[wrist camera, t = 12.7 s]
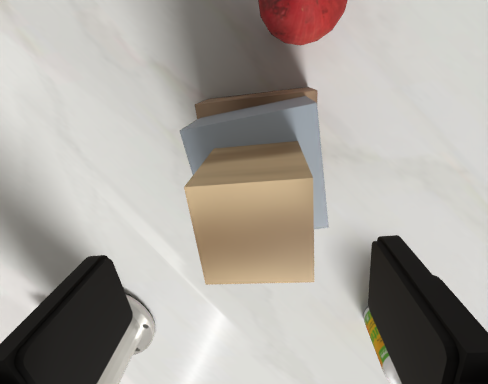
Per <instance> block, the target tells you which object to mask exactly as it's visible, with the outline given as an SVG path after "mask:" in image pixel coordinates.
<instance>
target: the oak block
mask: <svg viewBox="0 0 488 384" xmlns="http://www.w3.org/2000/svg"><path fill="white" fill-rule="evenodd" d="M184 189H185V193H186V198H187V202H188V207H189V211H190V216H191V220H192V225H193V229H194V234H195V238H196V243H197V247H198V252H199V256H200V261H201V265H202V270H203V274H204V279H205V283H206V284H250V283H296V282H314V209H313V176H312V174H311V171H310V169H309V167H308V164H307V162H306V159H305V157H304V155H303V152H302V150H301V147H300V145H299V142H298V141H291V142H280V143H269V144H258V145H247V146H236V147H225V148H214V149H213V150H212V152H211V153H210V154H209V155H208V157H207V158H206V159H205V161H204V162H203V163H202V165H201V166H200V167H199V169H198V170H197V171H196V172H195V174H194V175H193V176H192V178H191V179H190V180H189V182H188V183H187V184H186V185H185V187H184Z"/></svg>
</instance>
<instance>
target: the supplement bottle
mask: <svg viewBox="0 0 488 384" xmlns="http://www.w3.org/2000/svg"><path fill="white" fill-rule="evenodd" d="M364 322H365V325H366V327H367V330H368V333H369V335H370V338H371V341H372V343H373V346H374V348H375V351H376V354H377V356H378V359H379V361H380V364H381V367H382V369H383V372H384V374H385V376H386V378H387V379H388V381H389V382H390V383H391V384H402V383H401V381H400V378H399V376H398V374H397V372H396V369H395V367H394V365H393V363H392V361H391V358H390V356H389V354H388V352H387V349H386V347H385V345H384V343H383V340H382V338H381V336H380V334H379V332H378V329H377V327H376V325H375V323H374V320H373V318H372V316H371V313H370V310H369V307H368V308H367V309H366V310H365V313H364Z"/></svg>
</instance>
